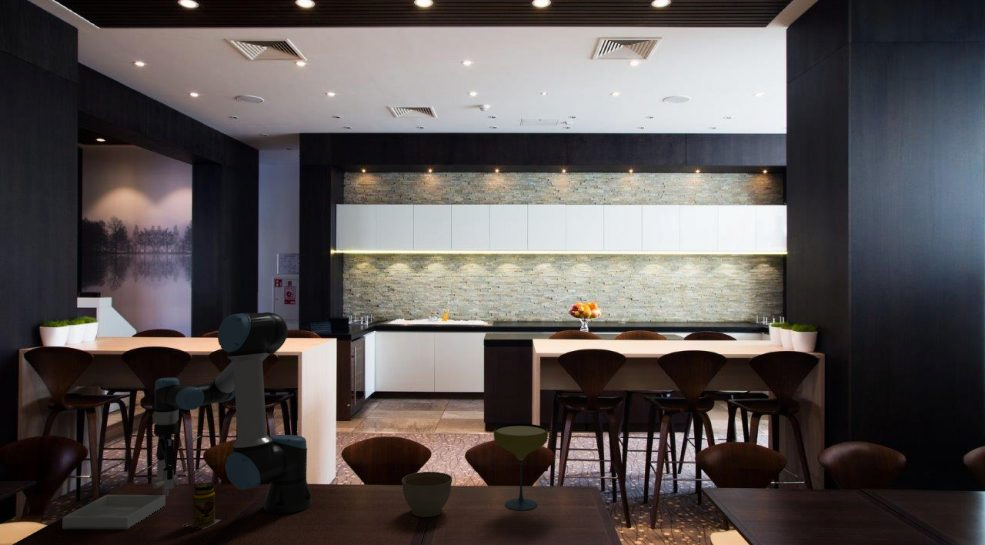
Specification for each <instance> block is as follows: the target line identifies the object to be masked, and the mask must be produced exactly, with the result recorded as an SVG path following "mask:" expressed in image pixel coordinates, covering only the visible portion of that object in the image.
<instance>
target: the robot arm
mask: <svg viewBox="0 0 985 545" xmlns="http://www.w3.org/2000/svg"><path fill="white" fill-rule="evenodd" d="M288 330H289V329H288V325H287V323H286V321H285V320H284V318H283V317H282V316H280V315H279V314H277V313H274V312H267V311H265V312H242V313H241V312H240V313H235V314H234V313H233V314H230V315H228V316H227V317H226V318H225V319H224V320H223V321H222V322H221V324H220V326H219V329H218V332H217V341H218V346H220V349H222V351H224V352H226V353H227V359H229V360H230V363H229V364H228V365H227V366H226V367H225V368H224V369H223V370H222V371H221V373H220V374H219V375H217V377H216V378H215V379H214V380H213V381H211V382H205V383H200V384H193V385H180V384H181V383H180V380H179V378H178V377H161V378H158V379H156V381H155V384H154V391H153V393H154V397H153V398H154V409H153V410H154V414H152V418H154V420H153V422H154V425H153V435H154V436H157V444H156V447H157V448H156V455H155V457H156V460H157V462H156V465H157V466H156V478H162V479H163V471H165V479H164V489H165V490H166V489H168V490H170V489H174V488H175V487H174V475H175V469H176V466H177V465H176V458H175V456H176V455H175V439H173V438H172V435H176V434H178V432H179V422H178V421H179V418H180V417H179V416H180V415H179V413H180V412H179V410H180V409H182V410H184V411H190V410H192V411H193V410H197V409H198V408H200V407H201V406H207V405H212V404H217V403H225V402H227V401H232V400H233V399H234V398H235V400H234V401H235V413H236V414H235V415H236V431H237V433H236V434H237V439H236V441H235V442H234V443H233V445H232V453H230V454H229V455H228V456H227V457H226V460H225V463H224V464H225V466H224V467H225V473H226V476H227V478H228V480H229V482H230V483H231V484H232V485H233V486H234V487H235V488H236V489H239V490H249V489H252V488H253V489H254V488H257V487H259V486H261V485H264V484H267V483H269V486H268V488H267V491H266V495H265V498H264V501H263V510H264V512H267V513H269V514H275V515H276V514H277V515H284V514H285V515H287V514H293V513H297V512H301V511H304V510H306V509H308V508H310V507H311V506H312V504H313V497H312V494H311V490H310V487H309V485H308V481H307V473H308V472H307V465H308V464H307V463H308V462H307V460H308V458H307V457H308V448H307V446H308V445H307V439H306V438H305V437H304V436H300V435H293V434H278V435H272V436H271V437H270V436H269V435H268V430H267V417H266V416H267V415H266V401H265V400H266V399H265V385H264V384H265V383H264V382H265V381H264V369H263V367H264V366H263V362H264V361H265V359H267V357H269V356H270V355H274V354H276V353H277V352H278V351H279V350H280V349H281V347H282V346H283V345H284V344H285V341H286V340H287V338H288ZM163 467H165V468H164V469H163Z"/></svg>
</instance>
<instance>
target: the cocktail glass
mask: <svg viewBox="0 0 985 545" xmlns="http://www.w3.org/2000/svg"><path fill="white" fill-rule="evenodd" d="M548 438H549V433H548V429H547V427H545V426H542V425H538V424H531V423H510V424H509V423H508V424H502V425H498V426H497V427H495V428H494V430H493V439H494V442H495V443H496V444H497V446H499V447H500V448H502V449H503V450H505V451H508V452H510V453H512V454H513V455H514V456H515V458H516V459H517V460H518V461H519V496H518V498H513V499H509V500H506V501H505V503H504V507H506V508H507V509H509V510H512V511H521V512H524V511H531V510H534V509H536V508H537V507H538V502H536V501H535V500H532V499H531V498H530V499H529V498H524V494H523V460H525V458H526V457H527V456H528V454H530V453H532V452H535V451H537V450H539V449H540V448H542V447H543V446H544V445H545V444H546V443H547V442H548Z"/></svg>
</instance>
